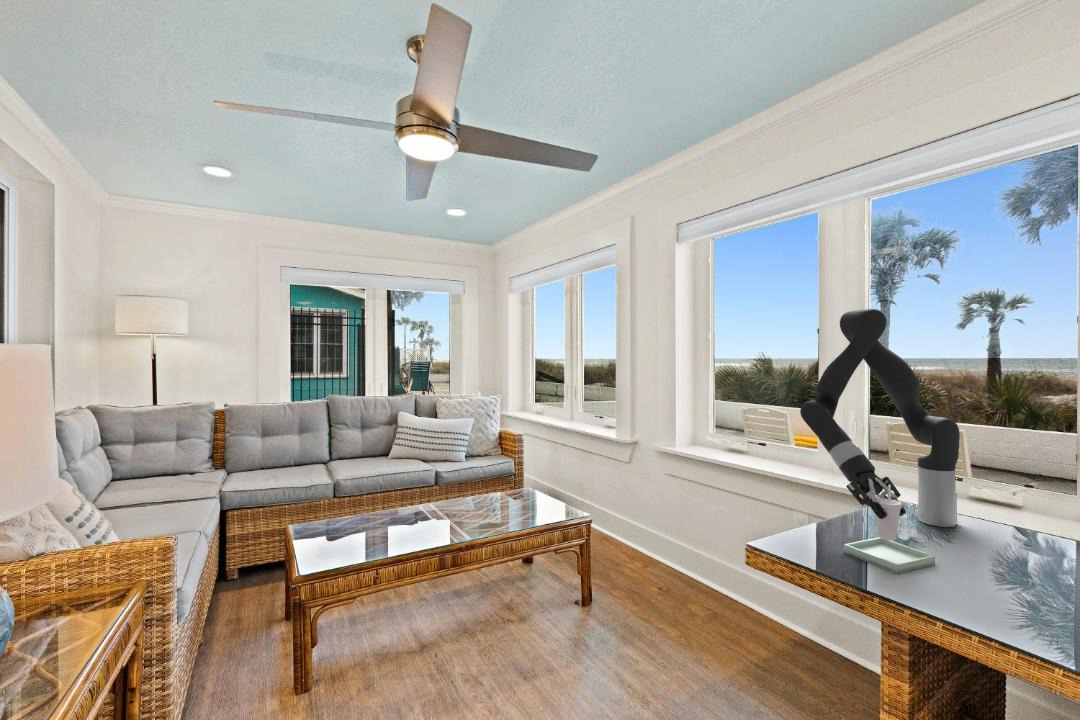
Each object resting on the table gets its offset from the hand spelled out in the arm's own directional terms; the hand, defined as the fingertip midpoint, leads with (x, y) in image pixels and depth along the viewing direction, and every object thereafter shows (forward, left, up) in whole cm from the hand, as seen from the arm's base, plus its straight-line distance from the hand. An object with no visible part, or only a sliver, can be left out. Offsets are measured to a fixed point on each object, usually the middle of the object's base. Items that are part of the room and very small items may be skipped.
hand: (893, 515), depth 127 cm
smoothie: (0, -2, -7) cm, 7 cm away
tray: (0, -2, -12) cm, 12 cm away
